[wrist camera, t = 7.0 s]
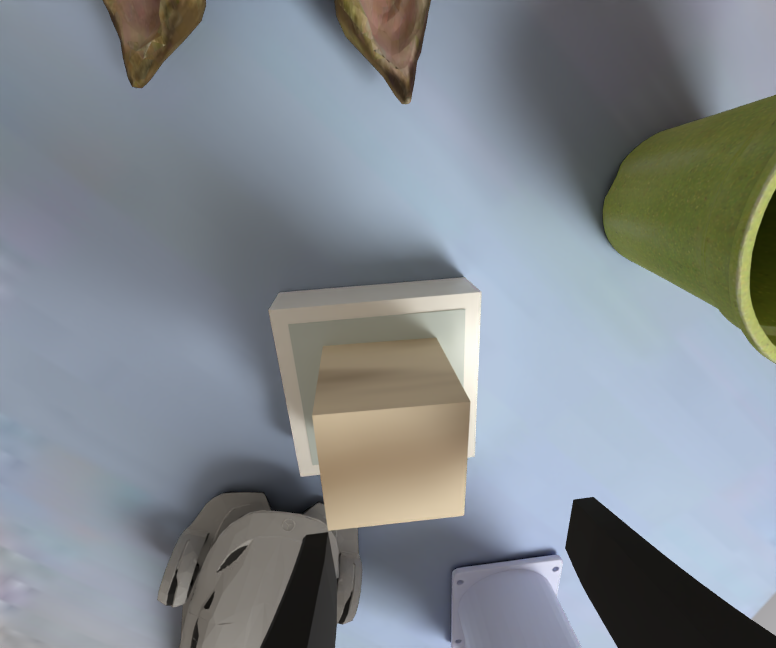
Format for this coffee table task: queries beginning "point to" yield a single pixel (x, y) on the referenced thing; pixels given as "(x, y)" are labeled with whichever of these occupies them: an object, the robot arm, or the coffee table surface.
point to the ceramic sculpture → (353, 10)
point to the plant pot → (706, 214)
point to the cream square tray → (370, 338)
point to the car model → (248, 569)
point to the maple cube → (390, 433)
